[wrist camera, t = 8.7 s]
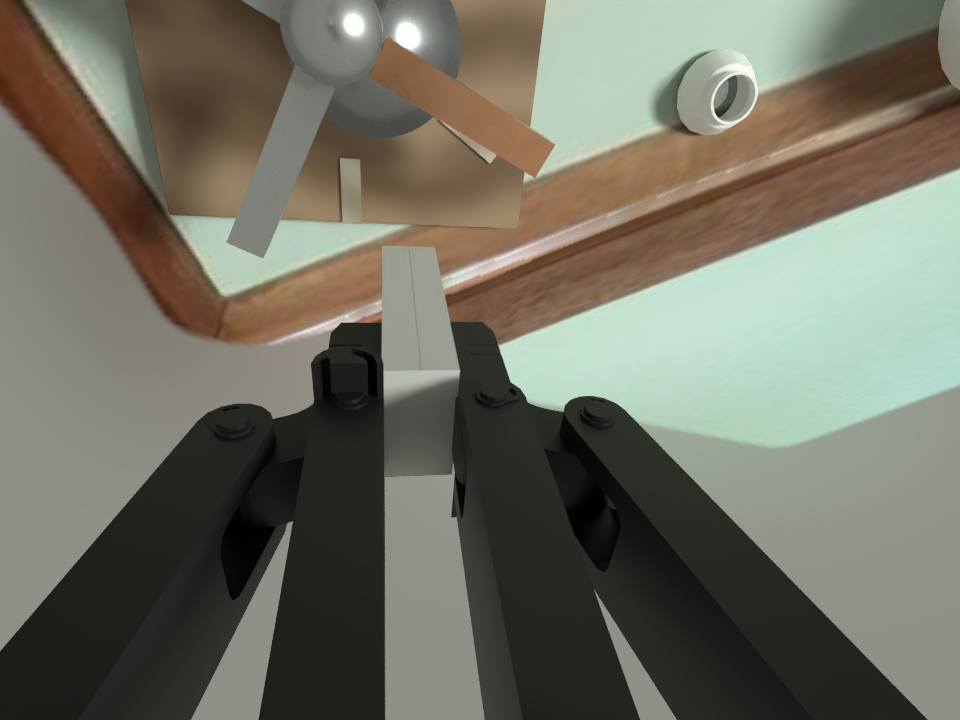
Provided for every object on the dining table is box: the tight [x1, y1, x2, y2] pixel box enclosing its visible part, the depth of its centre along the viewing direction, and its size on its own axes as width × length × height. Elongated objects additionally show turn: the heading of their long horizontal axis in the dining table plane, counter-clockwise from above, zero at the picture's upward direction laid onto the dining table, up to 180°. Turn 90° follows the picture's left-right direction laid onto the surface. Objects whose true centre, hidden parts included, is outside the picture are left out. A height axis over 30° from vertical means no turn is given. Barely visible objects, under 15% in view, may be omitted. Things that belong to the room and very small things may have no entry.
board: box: [125, 0, 546, 228], centre depth 31 cm, size 22×22×2 cm
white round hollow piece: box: [677, 49, 758, 136], centre depth 36 cm, size 5×3×5 cm
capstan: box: [227, 0, 555, 258], centre depth 26 cm, size 22×22×9 cm
